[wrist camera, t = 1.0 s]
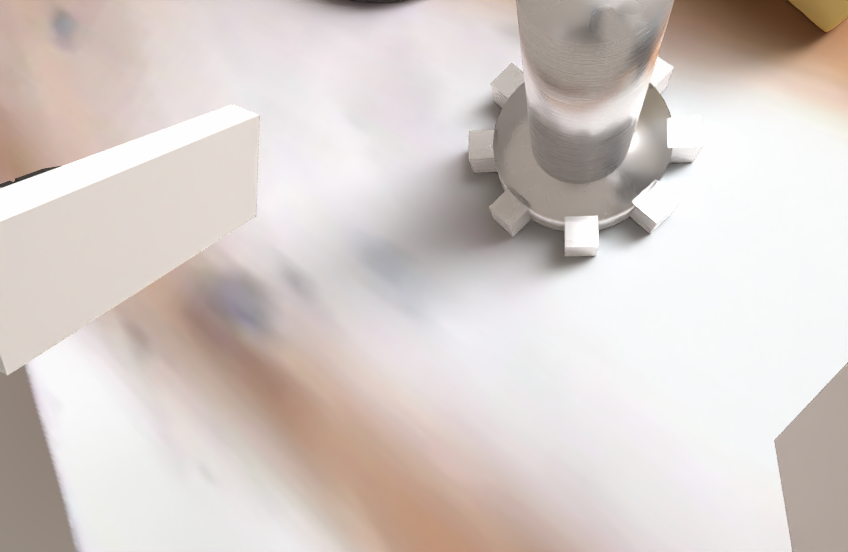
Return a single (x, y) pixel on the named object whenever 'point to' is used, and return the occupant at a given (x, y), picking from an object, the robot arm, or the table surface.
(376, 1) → the carrier plate
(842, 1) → the cheese
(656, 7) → the sun gear
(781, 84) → the table surface
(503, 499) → the table surface
